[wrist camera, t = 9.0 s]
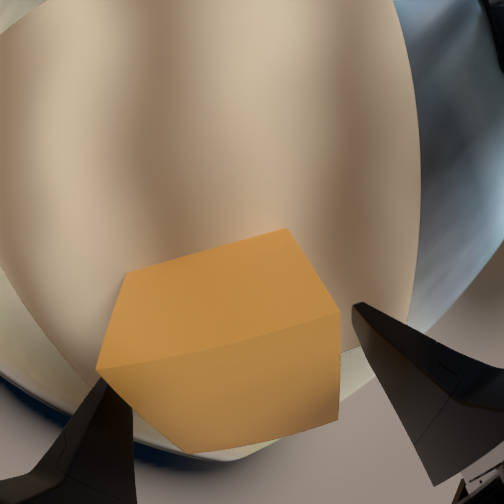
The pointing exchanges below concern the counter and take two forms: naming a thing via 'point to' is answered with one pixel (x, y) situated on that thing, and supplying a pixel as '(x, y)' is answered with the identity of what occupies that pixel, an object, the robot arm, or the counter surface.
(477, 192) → the counter surface
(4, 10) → the counter surface
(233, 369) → the amber foam cube
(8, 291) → the counter surface
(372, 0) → the birch board
